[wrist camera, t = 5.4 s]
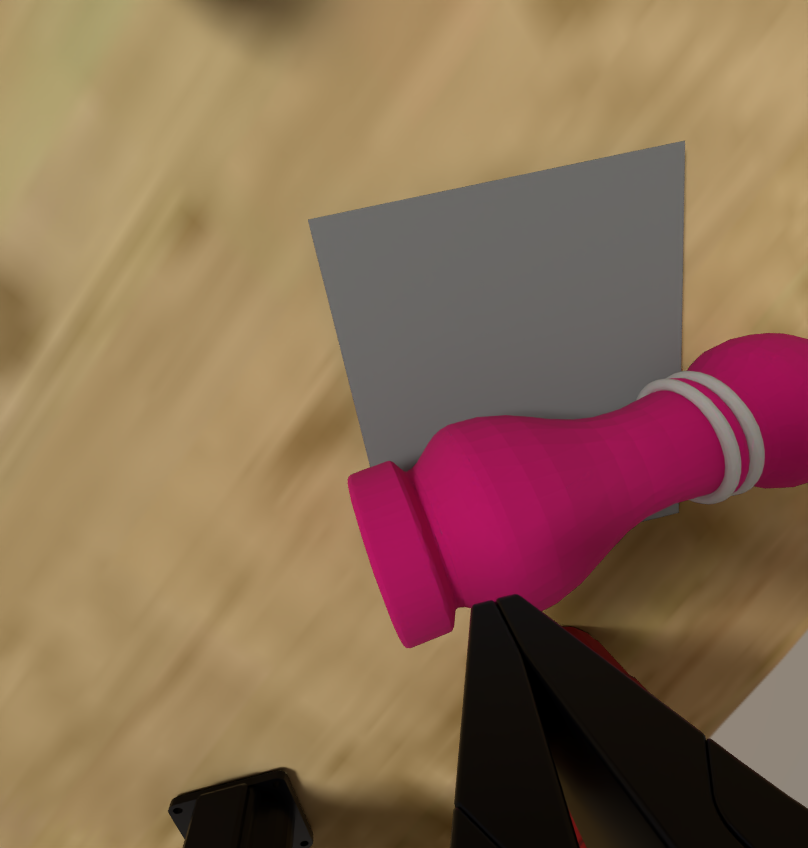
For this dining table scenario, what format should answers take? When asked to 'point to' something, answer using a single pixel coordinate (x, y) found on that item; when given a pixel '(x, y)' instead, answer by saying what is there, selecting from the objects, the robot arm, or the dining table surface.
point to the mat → (509, 298)
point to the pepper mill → (576, 483)
